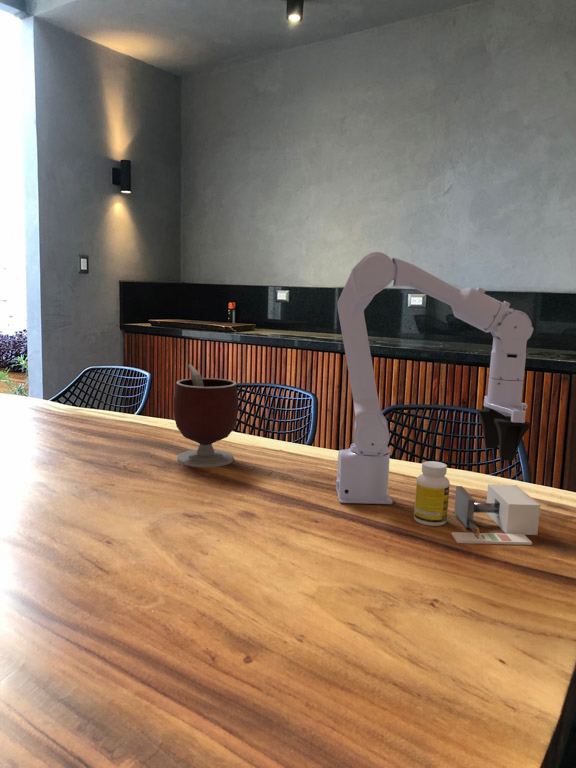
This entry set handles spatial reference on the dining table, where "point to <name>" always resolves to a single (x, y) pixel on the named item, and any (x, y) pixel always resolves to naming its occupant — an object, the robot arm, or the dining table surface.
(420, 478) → the supplement bottle
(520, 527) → the gauge
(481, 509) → the plunger
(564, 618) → the dining table surface
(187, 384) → the mate gourd
